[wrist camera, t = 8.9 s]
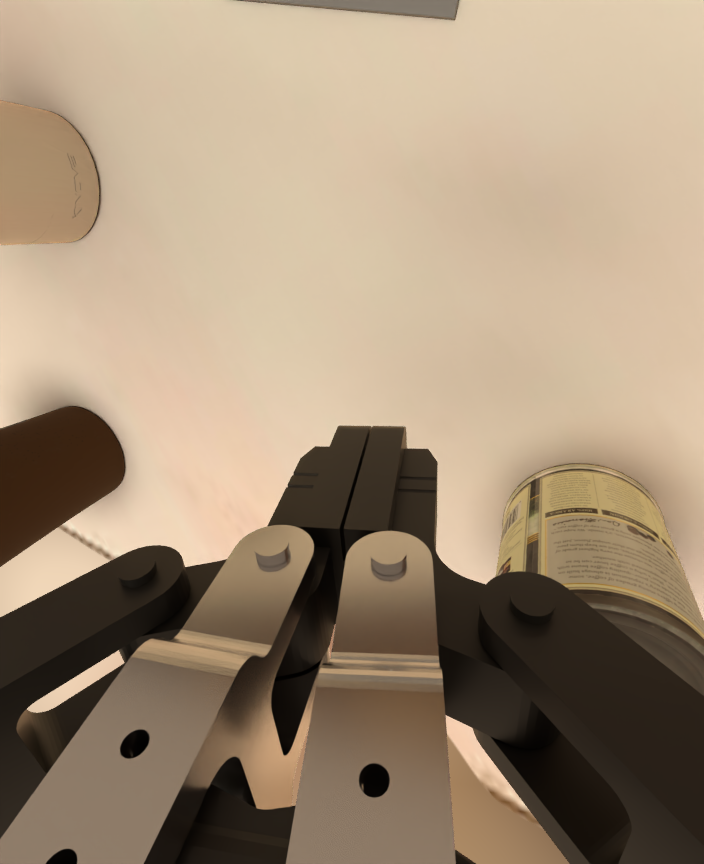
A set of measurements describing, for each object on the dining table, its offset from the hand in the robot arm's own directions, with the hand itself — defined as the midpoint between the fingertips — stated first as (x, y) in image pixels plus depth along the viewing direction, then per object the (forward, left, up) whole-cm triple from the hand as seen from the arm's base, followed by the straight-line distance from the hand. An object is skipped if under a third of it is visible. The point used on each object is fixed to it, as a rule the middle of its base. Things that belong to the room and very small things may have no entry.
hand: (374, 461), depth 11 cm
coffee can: (+10, -13, -23) cm, 28 cm away
